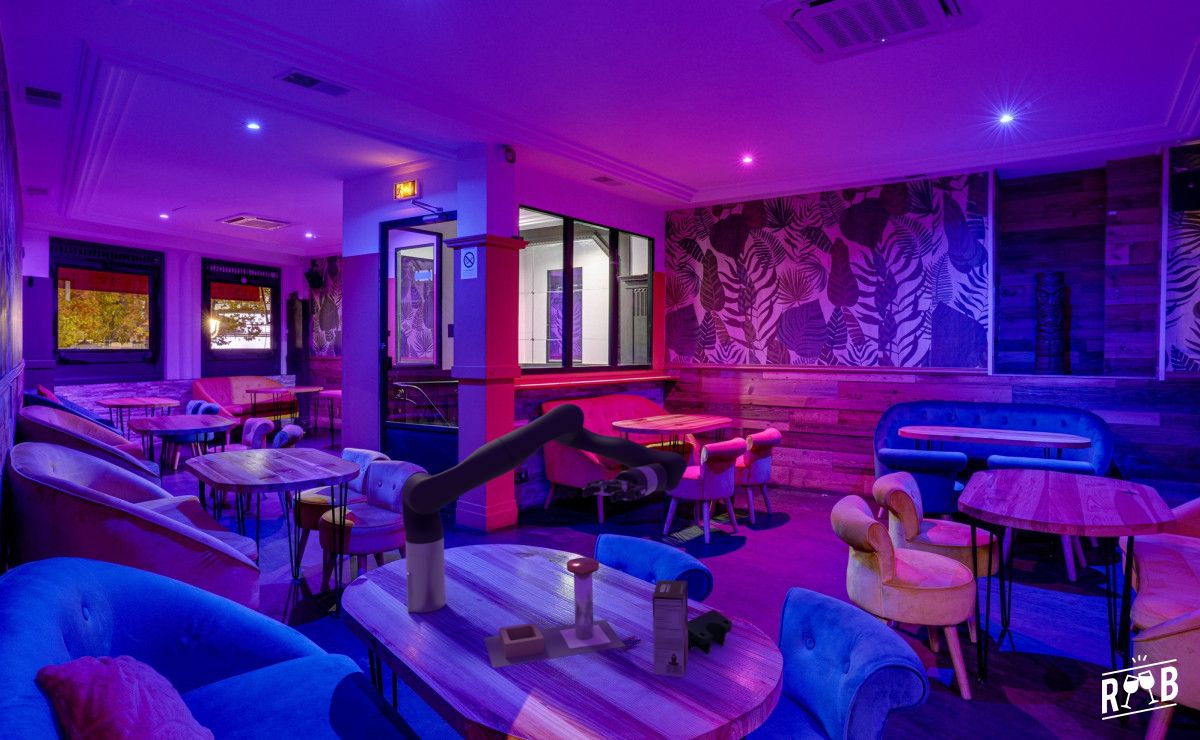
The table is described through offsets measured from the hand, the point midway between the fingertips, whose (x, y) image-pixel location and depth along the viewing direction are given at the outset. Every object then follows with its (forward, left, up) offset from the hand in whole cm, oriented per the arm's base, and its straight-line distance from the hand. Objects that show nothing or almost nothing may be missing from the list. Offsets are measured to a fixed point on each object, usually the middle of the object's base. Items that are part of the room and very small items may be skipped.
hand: (597, 495), depth 153 cm
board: (-13, -10, -30) cm, 34 cm away
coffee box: (+8, -25, -30) cm, 40 cm away
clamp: (+18, -20, -30) cm, 40 cm away
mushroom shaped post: (-6, -10, -28) cm, 31 cm away
